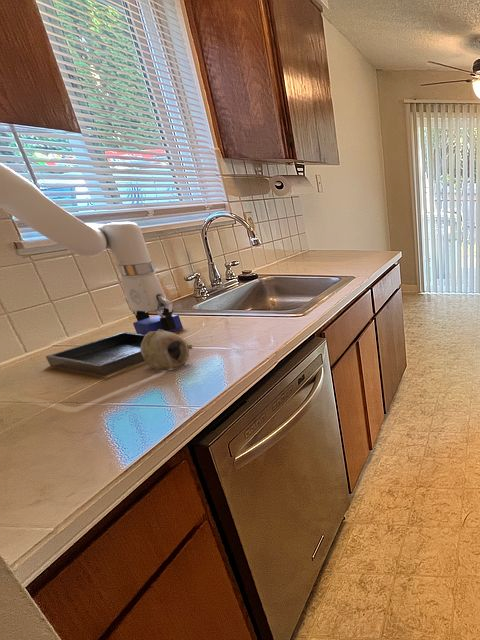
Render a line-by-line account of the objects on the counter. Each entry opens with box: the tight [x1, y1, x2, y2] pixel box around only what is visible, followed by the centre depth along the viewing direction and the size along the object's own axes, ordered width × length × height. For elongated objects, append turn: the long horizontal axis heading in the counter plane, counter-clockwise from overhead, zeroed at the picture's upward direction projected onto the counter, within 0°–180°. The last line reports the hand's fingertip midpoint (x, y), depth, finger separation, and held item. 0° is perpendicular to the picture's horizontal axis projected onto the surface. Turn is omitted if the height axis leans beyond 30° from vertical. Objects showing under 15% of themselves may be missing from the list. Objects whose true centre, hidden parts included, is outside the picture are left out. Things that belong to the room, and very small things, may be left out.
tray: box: [45, 331, 145, 377], centre depth 101 cm, size 20×18×3 cm
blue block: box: [132, 313, 184, 335], centre depth 117 cm, size 6×9×5 cm, turn 162°
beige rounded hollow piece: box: [141, 329, 194, 371], centre depth 96 cm, size 9×8×10 cm
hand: (158, 328), depth 117 cm, fingers open, 9 cm apart
